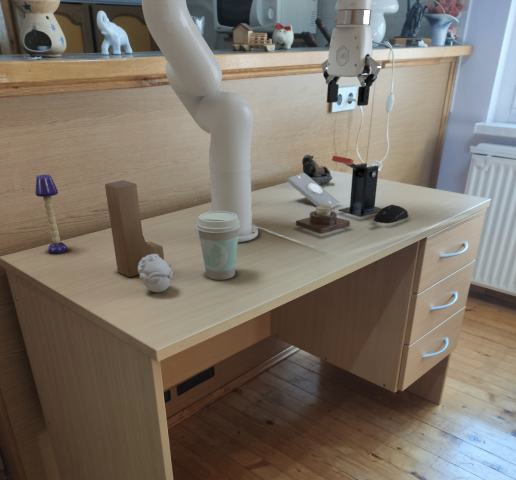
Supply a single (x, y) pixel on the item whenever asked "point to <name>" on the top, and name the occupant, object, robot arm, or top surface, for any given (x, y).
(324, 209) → the button
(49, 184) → the toy lamp
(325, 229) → the button block
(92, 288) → the top surface
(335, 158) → the lever
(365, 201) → the bracket
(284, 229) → the top surface
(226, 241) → the coffee cup
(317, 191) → the light switch
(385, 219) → the gaming mouse
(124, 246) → the wooden block
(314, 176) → the bison figurine
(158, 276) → the frog figurine
